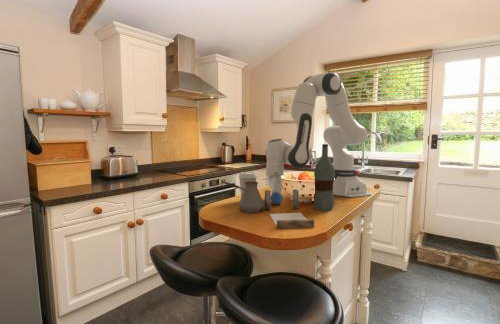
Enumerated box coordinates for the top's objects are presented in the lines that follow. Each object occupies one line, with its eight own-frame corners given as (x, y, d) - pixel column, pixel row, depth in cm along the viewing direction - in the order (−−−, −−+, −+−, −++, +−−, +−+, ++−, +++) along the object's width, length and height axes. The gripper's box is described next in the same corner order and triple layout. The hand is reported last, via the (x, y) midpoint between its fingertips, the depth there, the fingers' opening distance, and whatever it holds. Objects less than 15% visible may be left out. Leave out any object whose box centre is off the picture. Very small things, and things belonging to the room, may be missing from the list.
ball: (280, 200, 144) (280, 189, 142) (283, 205, 139) (284, 194, 137) (269, 201, 143) (269, 190, 141) (271, 207, 138) (272, 195, 136)
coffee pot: (252, 205, 138) (252, 175, 136) (269, 210, 130) (269, 178, 128) (216, 214, 124) (215, 180, 123) (232, 220, 116) (231, 184, 114)
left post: (269, 209, 131) (269, 190, 130) (270, 210, 129) (270, 191, 128) (264, 209, 131) (264, 190, 130) (265, 210, 129) (265, 191, 128)
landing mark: (300, 213, 125) (300, 212, 125) (310, 223, 111) (310, 223, 111) (269, 214, 123) (269, 214, 123) (275, 225, 109) (275, 224, 109)
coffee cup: (240, 199, 150) (240, 171, 149) (258, 199, 149) (258, 171, 147) (237, 203, 141) (236, 174, 139) (256, 204, 140) (256, 174, 138)
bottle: (319, 204, 139) (321, 143, 135) (337, 208, 132) (339, 144, 129) (309, 208, 132) (310, 144, 129) (327, 212, 126) (329, 145, 122)
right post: (297, 208, 133) (297, 189, 132) (298, 209, 130) (299, 190, 129) (291, 208, 133) (292, 189, 132) (293, 209, 130) (293, 190, 129)
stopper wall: (312, 225, 109) (312, 219, 109) (314, 227, 107) (314, 220, 107) (276, 226, 107) (276, 220, 107) (277, 228, 105) (277, 222, 105)
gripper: (285, 174, 133) (284, 203, 134) (277, 168, 153) (276, 193, 154) (272, 174, 132) (271, 203, 133) (265, 168, 152) (265, 193, 154)
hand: (274, 198), depth 144 cm, fingers closed
